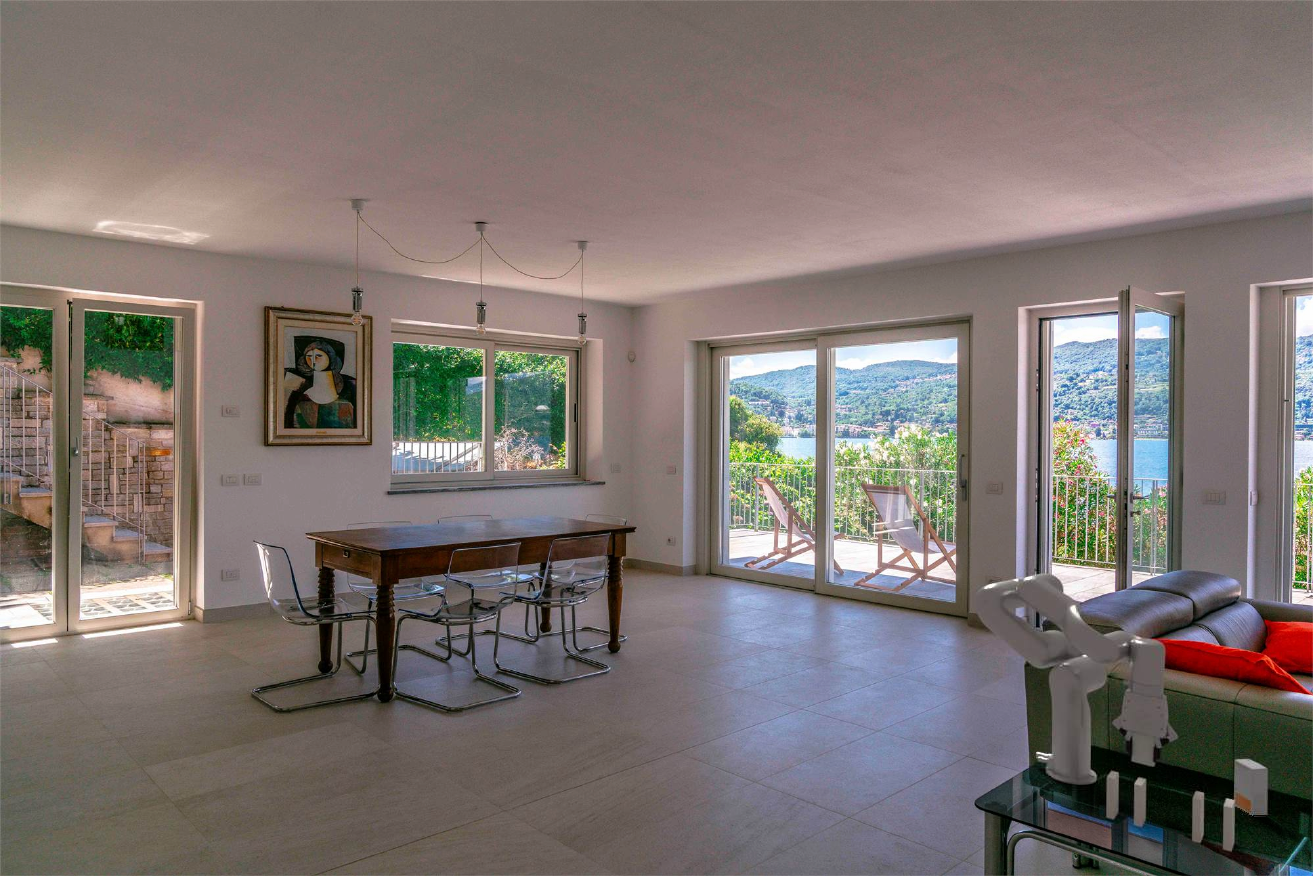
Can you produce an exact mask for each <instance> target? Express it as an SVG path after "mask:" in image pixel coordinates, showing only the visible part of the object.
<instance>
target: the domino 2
mask: <svg viewBox="0 0 1313 876" xmlns="http://www.w3.org/2000/svg"><path fill="white" fill-rule="evenodd" d="M1132 742H1133V746H1132V756H1131V762H1133V763H1137V764H1141V765H1145V766H1148V767H1155V765H1156V763H1154V762H1153V749H1154V747H1155V740H1154V737H1153V736H1148V735H1144V734H1140V733H1136V732H1133V737H1132Z"/></svg>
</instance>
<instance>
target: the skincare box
mask: <svg viewBox="0 0 1313 876" xmlns="http://www.w3.org/2000/svg"><path fill="white" fill-rule="evenodd" d="M1268 774H1269V770H1268V767H1265V766H1264V765H1262V764H1261V763H1258V762H1256V761H1254V760H1252V759H1250V758H1241V759H1240V758H1238V759H1234V776H1233V777H1234V781H1233V782H1234V785H1233V786H1234V787H1233V789H1234V791H1233V792H1234V793H1233V800H1235V808H1238V809H1239V808H1240V809H1239V810H1241V809H1242V810H1241V811H1243V812H1244V811H1245V812H1244V813H1246V812H1247V813H1249V814H1248V815H1252V816H1253V815H1267V816H1268V786H1269V785H1268V784H1269V783H1268V780H1269V779H1268V776H1269V775H1268ZM1247 813H1246V814H1247ZM1252 816H1251V817H1252Z"/></svg>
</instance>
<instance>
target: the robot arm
mask: <svg viewBox="0 0 1313 876" xmlns="http://www.w3.org/2000/svg"><path fill="white" fill-rule="evenodd" d="M974 605H975V606H974V607H975V611H976V613H977V616H978V618H979V619H980V621H981V623H982V624H983V625H984V626H985V627H986V628H987V629H989V631H991V632H992V633H993V634H994V635H996V636H997V637H998V638H1000V640H1002V641H1003V642H1004V643H1005V644H1006V645H1008V646H1009V647H1010V648H1011V649H1012V650H1013V651H1014V652H1016V653H1017V654H1018V655H1019V656H1020V657H1021V658H1023V659H1024V661H1026V662H1027V663H1029V665H1031V666H1032V667H1034V668H1035V669H1047V668H1050V667H1052V669H1051V670H1050V672H1049V676H1048V684H1049V690H1050V694H1051V695H1050V696H1051V711H1052V712H1051V714H1052V715H1051V720H1052V721H1051V722H1052V723H1051V729H1052V730H1051V753H1048V754H1047V753H1044V752H1040V751H1036V753H1035V758H1036V760H1037V761H1038V763H1042V764H1043V763H1044V764H1046V766H1045V773H1046V774H1047V775H1048V776H1049V777H1050V776H1051V777H1050V778H1052V779H1054V780H1056V781H1058V782H1062V783H1066V784H1070V785H1081V786H1083V785H1085V786H1086V785H1091V784H1094V783H1096V781H1097V780H1098V779H1097V778H1098V775H1097V774H1096V772H1095V771H1094V770H1092V769H1091V761H1092V760H1091V756H1092V755H1091V747H1092V746H1091V743H1092V741H1091V739H1092V735H1091V734H1092V730H1091V729H1092V715H1091V707H1090V703H1089V701H1088V697H1087V696H1088V694H1090V693H1091V692H1094V691H1097V690H1099V689H1101V688H1102V687H1103V686H1105V684H1106V682H1107V679H1108V675H1107V674H1108V672H1107V670H1106V668H1105V666H1112V665H1115V664H1118V663H1121V662H1127V661H1130V664H1129V665H1130V666H1129V667H1130V668H1129V669H1130V670H1129V678H1127V679H1126V678H1124V679H1123V680H1122V682H1123V683H1122V684H1123V685H1126V687H1128V688H1127V689H1126V690H1125V691H1124V695H1123V701H1122V707H1121V714H1120V715H1119V716H1118V717H1117V718H1116V719H1114V720H1113V721H1112V725H1113V726H1114V727H1115V728H1116V729H1117V730H1118V731H1119V733H1120V734H1121V735H1122V736H1123V737H1124V740H1126V746H1125V750H1126V752H1128V754H1127V755H1128V757H1131V758H1132V746H1133V742H1132V737H1133V732H1136V733H1140V734H1144V735H1148V736H1153V737H1154V740H1155V747H1154V749H1153V762H1154V763H1155V764H1157V763H1158V761H1159V760H1161V759H1162V750H1163V749H1162V748H1163V747H1164V746H1166V745H1168V744H1169V743H1172V742H1174V741H1176V740H1178V739H1179V736H1178V734H1177V733H1176V732H1175V731H1176V730H1175V729H1173V727H1172V726H1171V724H1170V723H1169V707H1168V705H1169V704H1168V701H1167V699H1168V698H1167V696H1166V695H1165V694H1164V688H1165V687H1164V686H1165V663H1166V647H1165V644H1164V643H1163V642H1161V641H1159V640H1156V639H1152V638H1145V637H1142V636H1139V635H1136V634H1134V633H1131V632H1129V631H1125V630H1116V631H1113V632H1109V633H1106V634H1105V633H1104V634H1103V633H1101V632H1099V631H1097V630H1096V629H1095V628H1093V627H1091V626H1090V625H1089V624H1087V623H1086V622H1085V621H1084V620H1083V619H1082V617H1081V615H1080V614H1081V612H1082V607H1081V604H1080V603H1079V601H1077V600H1076V599H1074V598H1072V597H1071V596H1069V595H1067V594H1066V593H1065V592H1064V585H1063V583H1062V581H1061V579H1059V578H1058V577H1057V576H1055V575H1054V574H1051V573H1045V572H1044V573H1043V572H1042V573H1038V574H1034V575H1029V576H1025V577H1019V578H1014V579H1013V578H1012V579H1008V580H1003V581H999V582H993V583H989V584H986V585H984V586H983V587H981V588H980V589H979V590H978V591H977V593H976V594H975V598H974ZM1024 607H1029V608H1031V609H1033V611H1035V612H1036V613H1039V614H1040V615H1041V616H1043V617H1044V618H1045V619H1047V620H1048V621H1050V622H1051V623H1053V624H1054V625H1056V626H1057V627H1058V628H1060V630H1053V629H1052V630H1051V629H1050V630H1046V631H1045V630H1044V631H1039V630H1038V629H1036V628H1035V627H1034V626H1032V625H1031V624H1030V623H1029V622H1027V620H1025V619H1023V618H1022V617H1020V616H1018V615H1016V614H1014V613H1012V612H1011V610H1015V609H1019V608H1024ZM1167 733H1168V734H1167ZM1166 735H1167V736H1166Z"/></svg>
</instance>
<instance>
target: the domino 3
mask: <svg viewBox="0 0 1313 876" xmlns="http://www.w3.org/2000/svg"><path fill="white" fill-rule="evenodd" d="M1133 789H1134V792H1133V794H1134V797H1133V825H1134V826H1136V827H1140V828H1142V827H1143V825H1144V823H1145V822H1146V818H1147V816H1146V815H1147V812H1146V811H1147V806H1146V805H1147V779H1146V778H1143V777H1140V776H1139V777H1138V778H1137V779H1136V780H1135V782H1134V787H1133Z"/></svg>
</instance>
